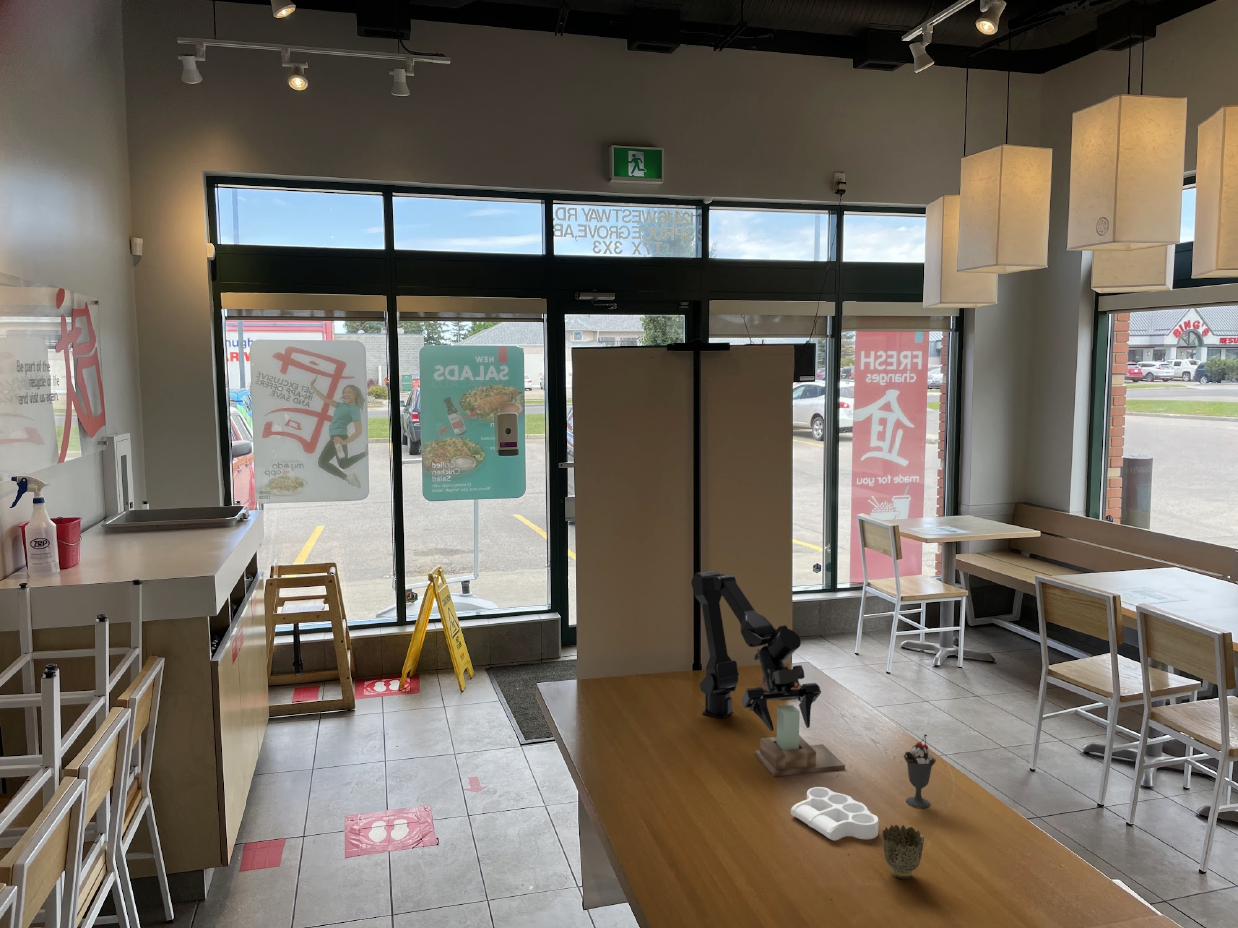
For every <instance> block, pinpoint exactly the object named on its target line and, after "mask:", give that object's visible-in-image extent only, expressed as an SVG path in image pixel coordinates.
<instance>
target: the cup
mask: <svg viewBox="0 0 1238 928" xmlns="http://www.w3.org/2000/svg"><path fill="white" fill-rule="evenodd" d="M881 835H882V847H883V854H884V855H883V856H884V859H885V860H886V863H887V864H888V865H889V867H891V869H890V870H891V872H892V875H893V876H894V877H896V878H897V879H900V880H908V879H910V878H911V876H912V875H913V871H915V870H916V869H917V868H918V866H919V865H920V863H921V860H922V854H923V849H924V848H923V847H924V842H925V836H921V832H920V830H917V831H916V829H915V828H914V827H912V826H910V827H907V828H906V826H905V825H903V824H902V826H901V827H900V826H899V825H897V824H895V825H894V826H893V824H891V825H890V827H889V828H888V827H887V826H885V829H882V830H881Z"/></svg>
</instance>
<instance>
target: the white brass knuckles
mask: <svg viewBox="0 0 1238 928" xmlns="http://www.w3.org/2000/svg"><path fill="white" fill-rule="evenodd" d="M790 814H791V815H792V816H793V817H795V818H797V819H798V820H800V821H801V822H803V823H804V824H806V825H808V827H810V828H812V829H814V830H816V831H817V832H819V833H820V834H822V835H823V836H825V837H826V838H828V839H829V840H831V841H838V840H841V839H843V838H845V837H853V838H855V839H860V840H873V839H875V838H876V837H878V835H879V818H878V816H877V815H874V814H873V813H872V811H870V810H868V807H867V806H866V805H865V804H864V803H862V802H860V801H857V800H855V799H853V798H852V796H850V795H847V794H844V793H839V792H835V791H832V790H831V789H829V788H828V787H824V786H814V787H811V788H809V789H807V792H806V799H805V800H801V801H800V802H798V803H796V804H794V805H793V806H792V807H791V808H790Z"/></svg>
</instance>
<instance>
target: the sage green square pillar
mask: <svg viewBox="0 0 1238 928" xmlns="http://www.w3.org/2000/svg"><path fill="white" fill-rule="evenodd" d="M800 713H801V710H800V709H798V708H797V707H796V706H795V705H794V704H789V705H788V704H787V705H778V706H776V737H777V747H778V748H779V749H780V750H781V751H784V750H795V749H799V736H800Z"/></svg>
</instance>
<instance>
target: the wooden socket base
mask: <svg viewBox="0 0 1238 928" xmlns="http://www.w3.org/2000/svg"><path fill="white" fill-rule="evenodd" d="M754 755H755V756H756V758H757V759H758V760H759V761H760V763H762V765H763V766H764V767H765V768H766V770H768V772H769V773H770V774H771V776H773V777H780V776H791V775H801V774H808V773H809V774H810V773H819V772H820V773H821V772H828V771H840V770H846V764H844V763H843V762H842V760H840V759H839V758H838V757H837V756H836V755H835V754H834V753H833V752H832V750H831V751H830V750H829V748H827V746H825V745H824V744H822V743H821V744H812V745H810V744H809V743H808V742H807V741H805V739H804V738H803V737H802V736H801V735H799V749H795V750H784V751H781V750H780V749H779V748H778V747H777V736H771V737H770V736H769V737H760V747H759V750H755V751H754Z"/></svg>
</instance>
